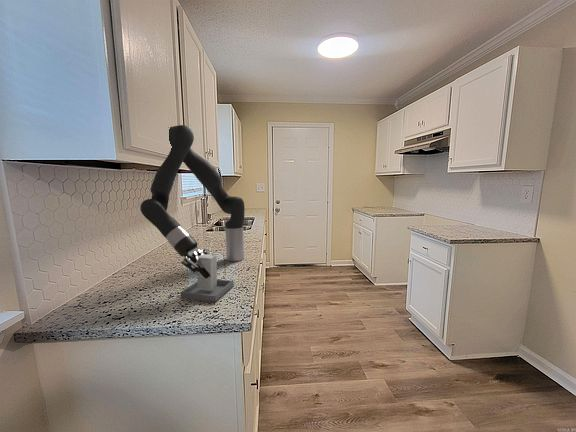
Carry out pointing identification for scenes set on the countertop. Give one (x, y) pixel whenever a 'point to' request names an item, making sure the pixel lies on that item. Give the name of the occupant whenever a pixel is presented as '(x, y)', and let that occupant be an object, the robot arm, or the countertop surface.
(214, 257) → the skincare box
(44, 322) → the countertop surface
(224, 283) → the tray
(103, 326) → the countertop surface
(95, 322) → the countertop surface
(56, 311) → the countertop surface
